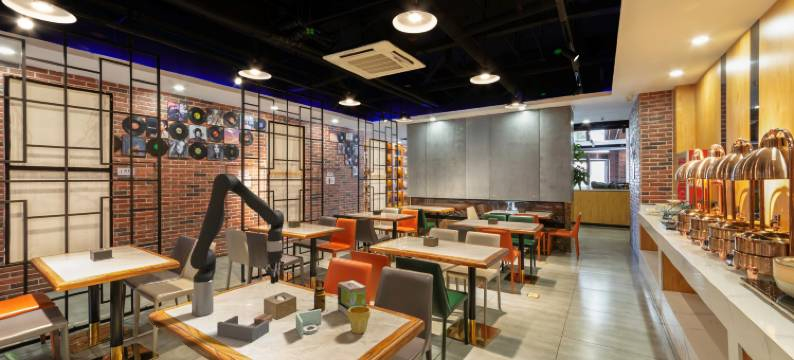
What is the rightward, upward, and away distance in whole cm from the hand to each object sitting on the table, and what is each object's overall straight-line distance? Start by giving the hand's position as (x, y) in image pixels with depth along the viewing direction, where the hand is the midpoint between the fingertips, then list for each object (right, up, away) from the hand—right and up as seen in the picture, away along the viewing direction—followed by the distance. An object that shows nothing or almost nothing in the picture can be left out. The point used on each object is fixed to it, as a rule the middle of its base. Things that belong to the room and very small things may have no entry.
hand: (274, 282), depth 178 cm
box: (-6, -17, -20) cm, 27 cm away
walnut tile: (-3, -17, -8) cm, 19 cm away
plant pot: (+45, -17, -17) cm, 52 cm away
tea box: (+39, -18, +6) cm, 43 cm away
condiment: (+21, -17, +8) cm, 28 cm away
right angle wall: (+23, -18, -17) cm, 34 cm away
